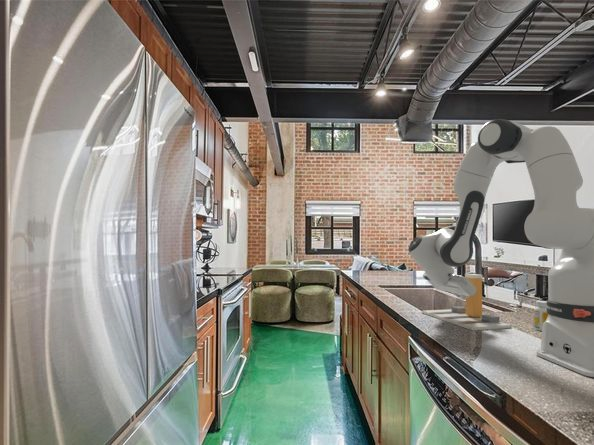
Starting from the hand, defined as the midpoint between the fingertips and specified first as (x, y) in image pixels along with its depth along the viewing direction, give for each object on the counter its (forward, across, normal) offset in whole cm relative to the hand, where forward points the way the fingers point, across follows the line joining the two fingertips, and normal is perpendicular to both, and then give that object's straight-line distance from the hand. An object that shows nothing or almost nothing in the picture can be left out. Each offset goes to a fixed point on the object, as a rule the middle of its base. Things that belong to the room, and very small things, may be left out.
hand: (463, 298), depth 134 cm
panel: (+5, 0, +6) cm, 8 cm away
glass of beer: (+8, 0, +1) cm, 8 cm away
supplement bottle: (+17, -19, -6) cm, 26 cm away
